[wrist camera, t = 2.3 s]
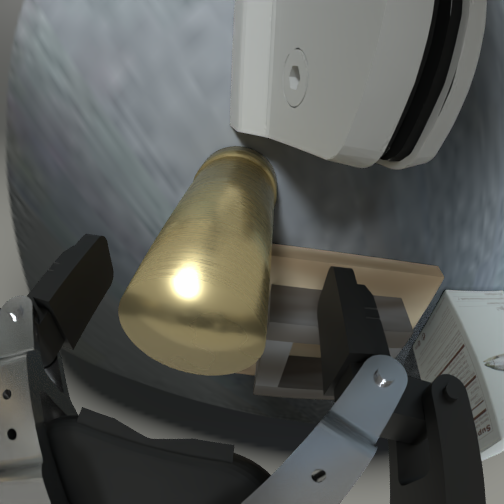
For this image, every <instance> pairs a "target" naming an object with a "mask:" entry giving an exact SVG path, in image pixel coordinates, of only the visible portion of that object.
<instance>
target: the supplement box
mask: <svg viewBox="0 0 504 504" xmlns="http://www.w3.org/2000/svg"><path fill="white" fill-rule="evenodd" d="M413 351H414V354H415V358H416V362H417V365H418V370H419V374H420V378H421V380H424V381H427V382H431V383H432V382H433V381H434V380H435V379H436V378H437V377H438V376H439V375H442V374H450V375H453V376H455V377H457V378H458V379H459V380H460V381H461V382H462V383H463V384H464V386H465V388H466V390H467V394H468V397H469V401H470V405H471V409H472V414H473V418H474V422H475V427H476V432H477V437H478V443H479V448H480V455H481V461H482V460H485V459H487V458H490V457H492V456H494V455H497V454H499V453H501V452H503V451H504V292H503V291H502V290H500V291H459V290H445V291H444V292H443V294H442V296H441V298H440V300H439V301H438V303H437V305H436V307H435V309H434V311H433V312H432V314H431V316H430V317H429V319H428V321H427V323H426V324H425V326H424V328H423V329H422V331H421V333H420V334H419V336H418V338H417V339H416V341H415V343H414V344H413Z"/></svg>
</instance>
